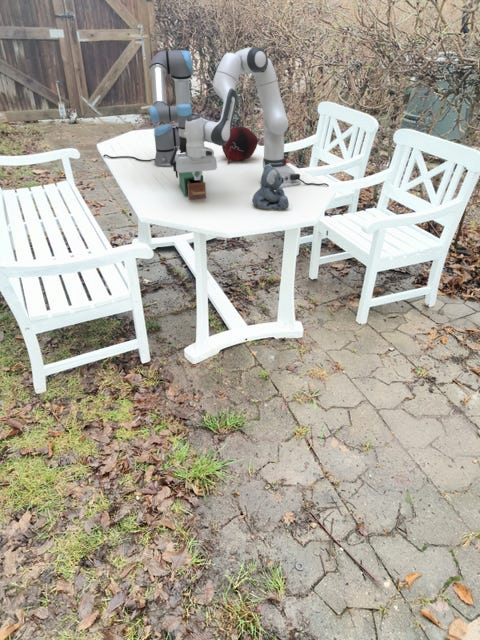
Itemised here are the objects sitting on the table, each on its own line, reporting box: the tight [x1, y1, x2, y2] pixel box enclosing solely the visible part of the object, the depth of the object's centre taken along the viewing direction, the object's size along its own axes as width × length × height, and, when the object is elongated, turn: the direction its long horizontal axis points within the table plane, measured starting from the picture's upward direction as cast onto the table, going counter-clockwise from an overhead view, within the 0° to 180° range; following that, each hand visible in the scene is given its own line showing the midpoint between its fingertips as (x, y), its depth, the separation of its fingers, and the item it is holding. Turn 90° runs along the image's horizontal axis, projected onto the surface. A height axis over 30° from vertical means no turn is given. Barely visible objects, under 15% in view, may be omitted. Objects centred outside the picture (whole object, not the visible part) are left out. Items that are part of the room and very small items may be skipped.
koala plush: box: [251, 164, 290, 211], centre depth 224 cm, size 17×18×20 cm
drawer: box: [186, 179, 207, 200], centre depth 239 cm, size 24×9×8 cm, turn 15°
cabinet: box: [178, 171, 204, 197], centre depth 248 cm, size 19×10×10 cm, turn 15°
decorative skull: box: [221, 126, 259, 165], centre depth 296 cm, size 21×24×25 cm
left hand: (189, 176), depth 252 cm, fingers open, 13 cm apart
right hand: (197, 179), depth 227 cm, fingers closed
